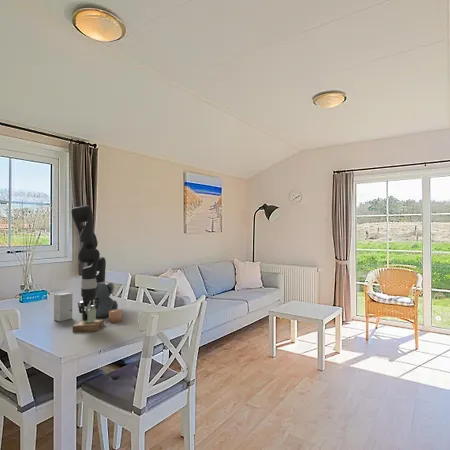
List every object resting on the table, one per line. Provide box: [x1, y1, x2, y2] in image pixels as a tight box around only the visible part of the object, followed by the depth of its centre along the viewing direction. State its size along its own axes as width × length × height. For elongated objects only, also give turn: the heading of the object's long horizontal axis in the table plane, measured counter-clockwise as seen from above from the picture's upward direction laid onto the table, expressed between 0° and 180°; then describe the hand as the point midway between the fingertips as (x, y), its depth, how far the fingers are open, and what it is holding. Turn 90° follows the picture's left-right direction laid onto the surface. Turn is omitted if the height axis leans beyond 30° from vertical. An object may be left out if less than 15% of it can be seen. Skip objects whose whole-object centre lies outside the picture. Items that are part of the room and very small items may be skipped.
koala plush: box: [89, 281, 119, 319], centre depth 207 cm, size 17×18×20 cm
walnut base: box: [72, 318, 105, 333], centre depth 179 cm, size 12×12×3 cm
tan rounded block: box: [108, 308, 123, 324], centre depth 193 cm, size 7×7×6 cm
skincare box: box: [53, 292, 73, 322], centre depth 197 cm, size 8×6×15 cm
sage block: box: [81, 308, 97, 323], centre depth 179 cm, size 5×5×6 cm
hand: (88, 319), depth 179 cm, fingers closed on sage block, 5 cm apart
